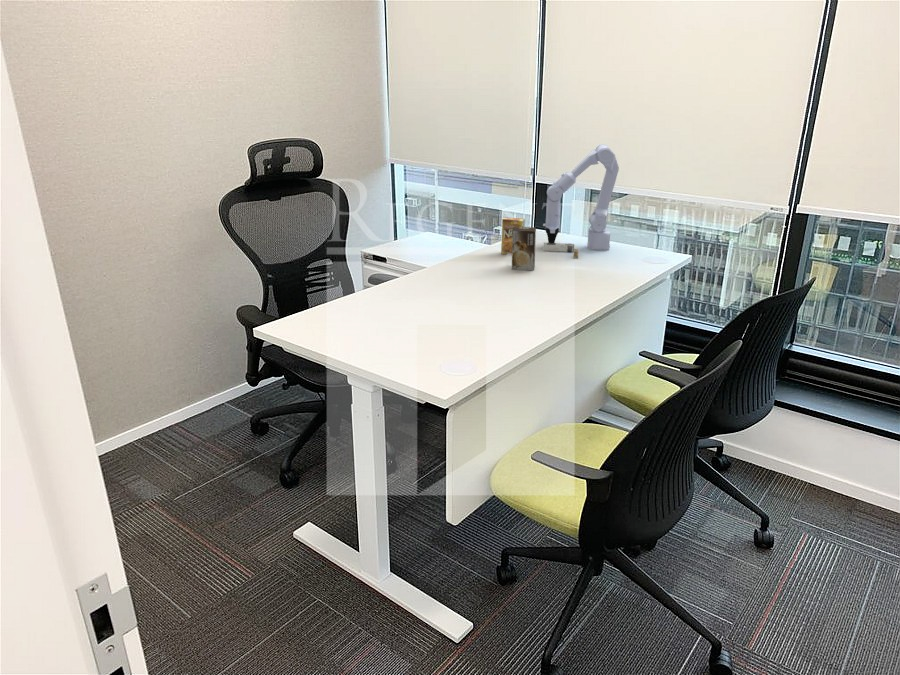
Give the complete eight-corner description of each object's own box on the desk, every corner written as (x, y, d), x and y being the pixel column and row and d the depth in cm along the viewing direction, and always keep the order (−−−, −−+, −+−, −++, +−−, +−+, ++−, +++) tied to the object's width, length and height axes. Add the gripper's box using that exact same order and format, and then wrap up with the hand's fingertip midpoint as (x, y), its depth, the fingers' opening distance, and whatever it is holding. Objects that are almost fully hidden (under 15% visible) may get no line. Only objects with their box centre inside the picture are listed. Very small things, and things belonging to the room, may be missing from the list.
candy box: (500, 254, 302) (501, 219, 296) (503, 251, 306) (504, 216, 300) (521, 256, 299) (522, 220, 293) (523, 253, 303) (525, 218, 297)
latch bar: (573, 250, 303) (574, 243, 302) (573, 252, 300) (574, 246, 299) (543, 248, 305) (544, 242, 304) (543, 251, 302) (543, 244, 301)
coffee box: (535, 266, 288) (537, 227, 281) (534, 270, 282) (536, 231, 275) (512, 264, 289) (513, 226, 283) (511, 269, 283) (512, 230, 277)
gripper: (543, 210, 309) (541, 240, 314) (543, 218, 296) (542, 249, 301) (559, 210, 308) (557, 240, 314) (560, 218, 295) (558, 250, 301)
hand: (551, 245), depth 307 cm, fingers closed
